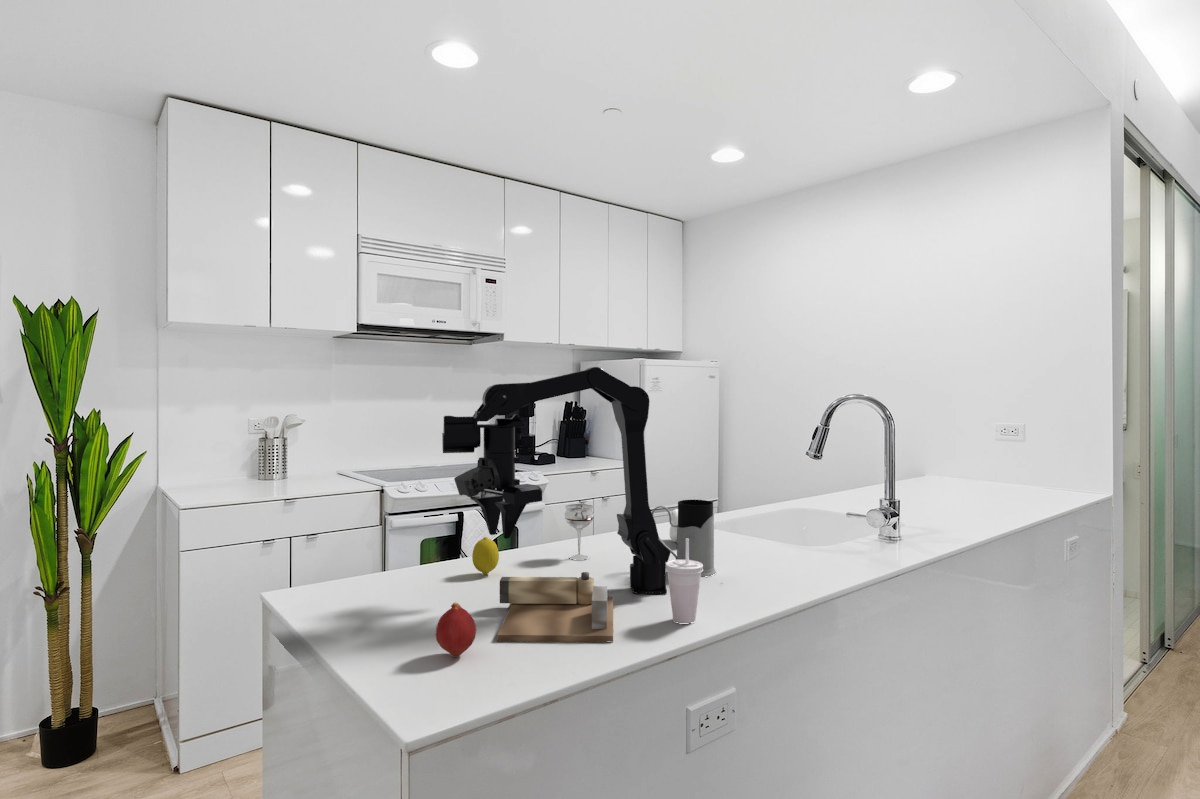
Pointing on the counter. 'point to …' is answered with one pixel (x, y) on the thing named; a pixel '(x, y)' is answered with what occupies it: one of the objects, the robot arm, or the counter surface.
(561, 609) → the seat
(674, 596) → the smoothie
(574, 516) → the wineglass
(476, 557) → the lemon
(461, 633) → the onion
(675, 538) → the white rounded piece
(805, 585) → the counter surface
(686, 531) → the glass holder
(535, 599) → the leg
